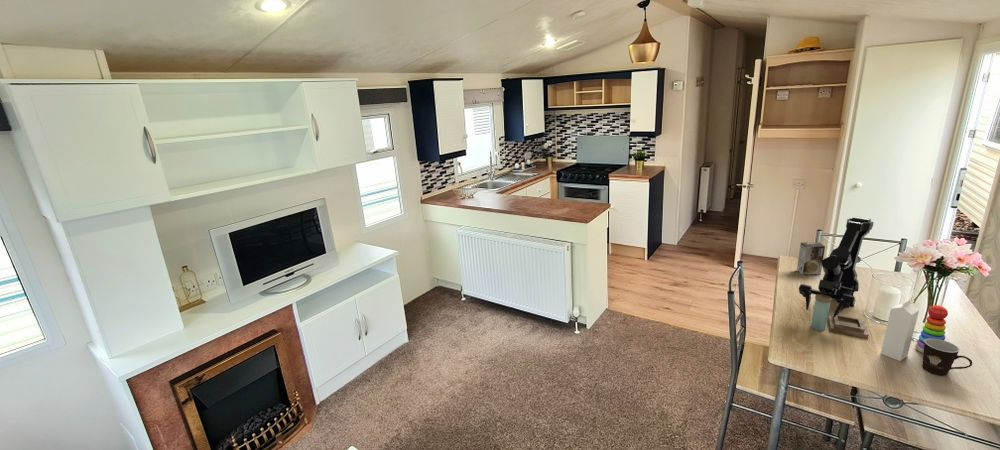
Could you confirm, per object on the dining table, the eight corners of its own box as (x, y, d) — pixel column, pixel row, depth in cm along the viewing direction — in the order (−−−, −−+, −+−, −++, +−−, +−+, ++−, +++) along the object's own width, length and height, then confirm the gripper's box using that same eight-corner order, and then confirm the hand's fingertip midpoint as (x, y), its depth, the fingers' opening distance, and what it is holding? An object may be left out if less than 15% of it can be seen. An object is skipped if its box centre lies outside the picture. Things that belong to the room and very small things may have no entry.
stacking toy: (931, 345, 167) (943, 301, 161) (950, 358, 159) (963, 311, 154) (909, 345, 168) (920, 301, 162) (926, 357, 160) (938, 311, 155)
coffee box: (814, 270, 236) (819, 241, 232) (821, 274, 230) (826, 246, 226) (795, 270, 238) (800, 242, 233) (802, 274, 232) (806, 246, 227)
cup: (823, 324, 184) (828, 294, 180) (828, 331, 180) (834, 300, 175) (808, 323, 186) (813, 293, 182) (812, 330, 181) (818, 299, 177)
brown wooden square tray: (828, 318, 189) (829, 311, 188) (863, 324, 183) (865, 318, 182) (830, 331, 180) (831, 324, 179) (868, 338, 173) (869, 331, 173)
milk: (907, 356, 162) (922, 302, 155) (900, 361, 159) (914, 307, 152) (887, 348, 167) (900, 296, 160) (879, 353, 164) (892, 300, 157)
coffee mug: (911, 364, 157) (917, 339, 154) (933, 361, 158) (940, 337, 155) (945, 384, 146) (952, 358, 143) (969, 382, 147) (977, 356, 144)
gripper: (803, 266, 185) (791, 298, 181) (859, 278, 172) (847, 313, 168) (805, 277, 193) (794, 309, 189) (859, 289, 179) (848, 323, 175)
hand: (820, 313), depth 180 cm, fingers open, 9 cm apart
